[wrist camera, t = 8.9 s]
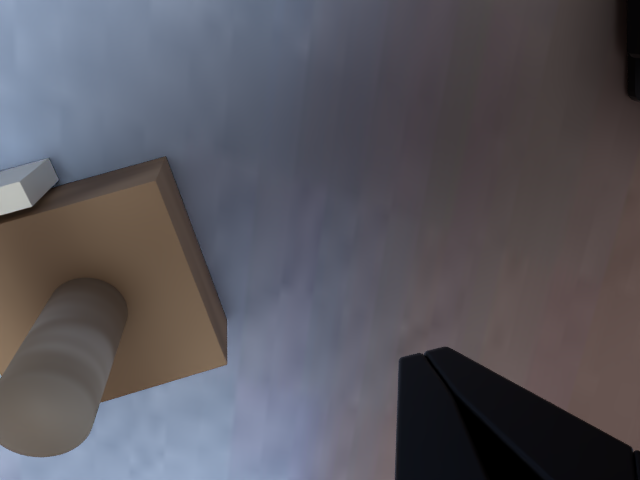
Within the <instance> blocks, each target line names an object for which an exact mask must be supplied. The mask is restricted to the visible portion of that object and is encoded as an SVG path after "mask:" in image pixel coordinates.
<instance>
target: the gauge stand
mask: <svg viewBox="0 0 640 480" xmlns="http://www.w3.org/2000/svg"><path fill="white" fill-rule="evenodd" d="M224 365H227V319H226V316H225V314H224V311H223V308H222V306H221V303H220V300H219V298H218V295H217V292H216V289H215V287H214V284H213V281H212V279H211V276H210V273H209V271H208V268H207V265H206V263H205V260H204V257H203V255H202V252H201V249H200V247H199V244H198V241H197V239H196V236H195V233H194V231H193V228H192V225H191V223H190V220H189V217H188V215H187V212H186V209H185V207H184V204H183V201H182V199H181V196H180V193H179V190H178V188H177V185H176V182H175V180H174V177H173V174H172V172H171V169H170V166H169V164H168V161H167V158H166V156H165V157H161V158H158V159H154V160H151V161H147V162H143V163H140V164H136V165H133V166H129V167H125V168H122V169H118V170H115V171H111V172H107V173H104V174H100V175H97V176H93V177H89V178H86V179H82V180H79V181H75V182H71V183H68V184H64V185H61V186H57V187H53V188H50V189H49V190H48V191H47V192H46V193H45V194H44V195H43V196H42V197H41V198H40V199H39V200H38V201H37V202H36V203H35V204H34V205H33V206H32V207H29V208H25V209H22V210H18V211H14V212H11V213H7V214H4V215H0V374H1V378H0V445H2V446H3V447H5V448H7V449H8V450H11V451H13V452H15V453H18V454H21V455H26V456H32V457H50V456H56V455H60V454H63V453H66V452H69V451H71V450H73V449H74V448H76V447H77V446H79V445H80V444H81V443H82V442H83V441H84V440H85V439H86V438H87V436H88V435H89V433H90V431H91V429H92V426H93V423H94V420H95V417H96V414H97V411H98V407H99V404H100V403H101V402H104V401H108V400H111V399H114V398H118V397H121V396H124V395H127V394H131V393H134V392H137V391H141V390H144V389H147V388H151V387H154V386H157V385H161V384H164V383H167V382H171V381H174V380H177V379H181V378H184V377H187V376H191V375H194V374H197V373H201V372H204V371H207V370H211V369H214V368H217V367H221V366H224Z"/></svg>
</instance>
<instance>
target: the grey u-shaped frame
mask: <svg viewBox="0 0 640 480" xmlns="http://www.w3.org/2000/svg"><path fill="white" fill-rule="evenodd" d="M58 180H59V179H58V177H57V175H56V173H55V170H54V168H53V166H52V164H51V162H50V160H49V158H47V159H43V160H39V161H36V162H32V163H29V164H25V165H21V166H18V167H14V168H10V169H7V170H3V171H0V215H4V214H7V213H11V212H14V211H18V210H22V209H25V208H29V207H32V206H33V205H34V204H35V203H36V202H37V201H38V200H39V199H40V198H41V197H42V196H43V195H44V194H45V193H46V192H47V191H48V190H49V189H50V188H51V187H52V186H53V185H54V184H55V183H56V182H57V181H58Z"/></svg>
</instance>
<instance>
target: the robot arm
mask: <svg viewBox="0 0 640 480" xmlns="http://www.w3.org/2000/svg"><path fill="white" fill-rule="evenodd" d="M627 52H628V95H629V97H630V98H631V99H632V100H635V101H639V102H640V0H628V12H627ZM395 480H640V451H638V450H636V451H634V453H633V448H632V447H631V446H629V445H627V444H625V443H623V442H622V441H620V440H618V439H616V438H614V437H612V436H611V435H609V434H607V433H605V432H603V431H601V430H600V429H598V428H596V427H594V426H592V425H590V424H589V423H587V422H585V421H583V420H581V419H579V418H578V417H576V416H574V415H572V414H570V413H568V412H567V411H565V410H563V409H561V408H559V407H557V406H556V405H554V404H552V403H550V402H548V401H546V400H545V399H543V398H541V397H539V396H537V395H535V394H534V393H532V392H530V391H528V390H526V389H524V388H523V387H521V386H519V385H517V384H515V383H513V382H512V381H510V380H508V379H506V378H504V377H502V376H501V375H499V374H497V373H495V372H493V371H491V370H490V369H488V368H486V367H484V366H482V365H480V364H479V363H477V362H475V361H473V360H471V359H469V358H468V357H466V356H464V355H462V354H460V353H458V352H457V351H455V350H453V349H451V348H449V347H441V348H437V349H433V350H429V351H426V352H425V353H424V355H423V354H421V353H417V354H413V355H409V356H405V357H401V358H400V359H399V371H398V401H397V431H396V460H395Z"/></svg>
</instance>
